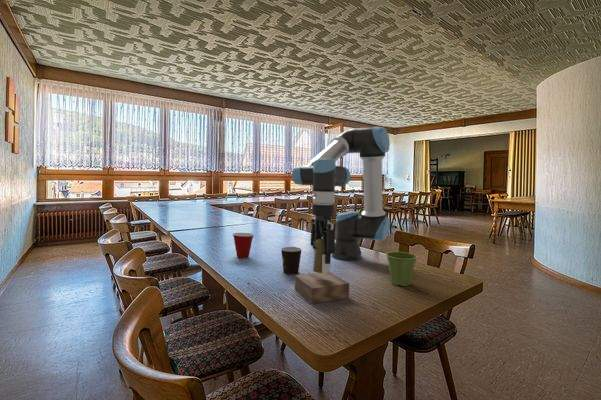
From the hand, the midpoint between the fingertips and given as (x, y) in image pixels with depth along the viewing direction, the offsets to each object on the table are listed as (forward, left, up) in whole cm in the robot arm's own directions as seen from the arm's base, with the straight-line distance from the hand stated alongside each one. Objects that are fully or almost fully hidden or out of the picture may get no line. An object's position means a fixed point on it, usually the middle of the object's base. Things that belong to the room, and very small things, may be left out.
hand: (321, 269), depth 107 cm
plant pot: (-34, +2, -9) cm, 35 cm away
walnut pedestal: (0, 0, -8) cm, 8 cm away
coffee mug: (0, -27, -9) cm, 28 cm away
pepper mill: (0, 0, 0) cm, 1 cm away
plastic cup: (+14, -57, -9) cm, 59 cm away
